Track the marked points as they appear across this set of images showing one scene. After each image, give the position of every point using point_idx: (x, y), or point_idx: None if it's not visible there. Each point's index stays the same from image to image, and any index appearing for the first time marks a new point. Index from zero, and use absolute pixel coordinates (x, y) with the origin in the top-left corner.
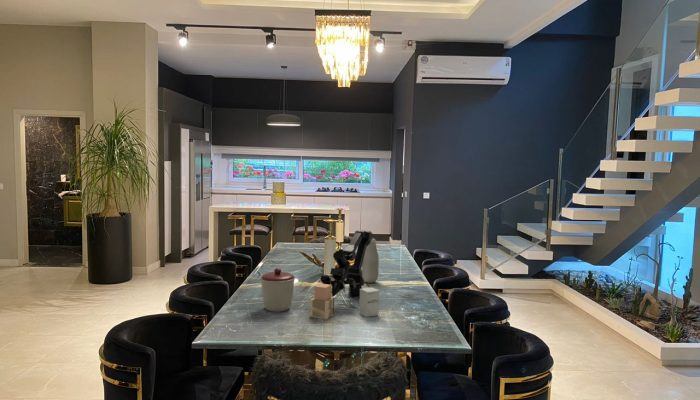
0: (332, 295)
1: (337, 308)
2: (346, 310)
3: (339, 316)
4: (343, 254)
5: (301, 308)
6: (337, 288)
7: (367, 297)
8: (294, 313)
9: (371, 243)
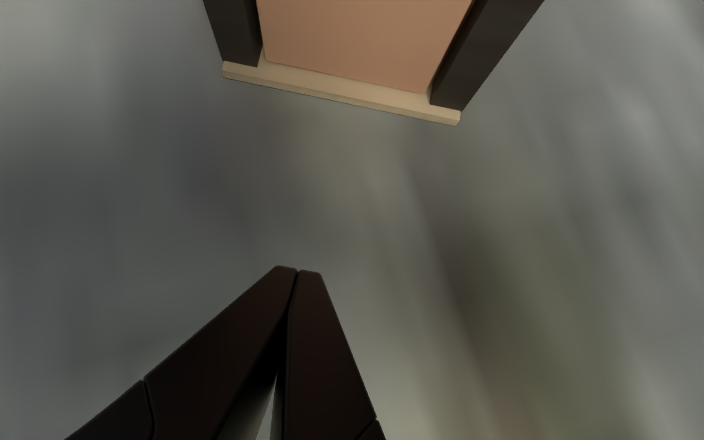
0: (310, 274)
1: None
2: (83, 294)
3: (143, 27)
4: None
5: (699, 213)
6: (89, 421)
7: None
8: (674, 25)
9: None
